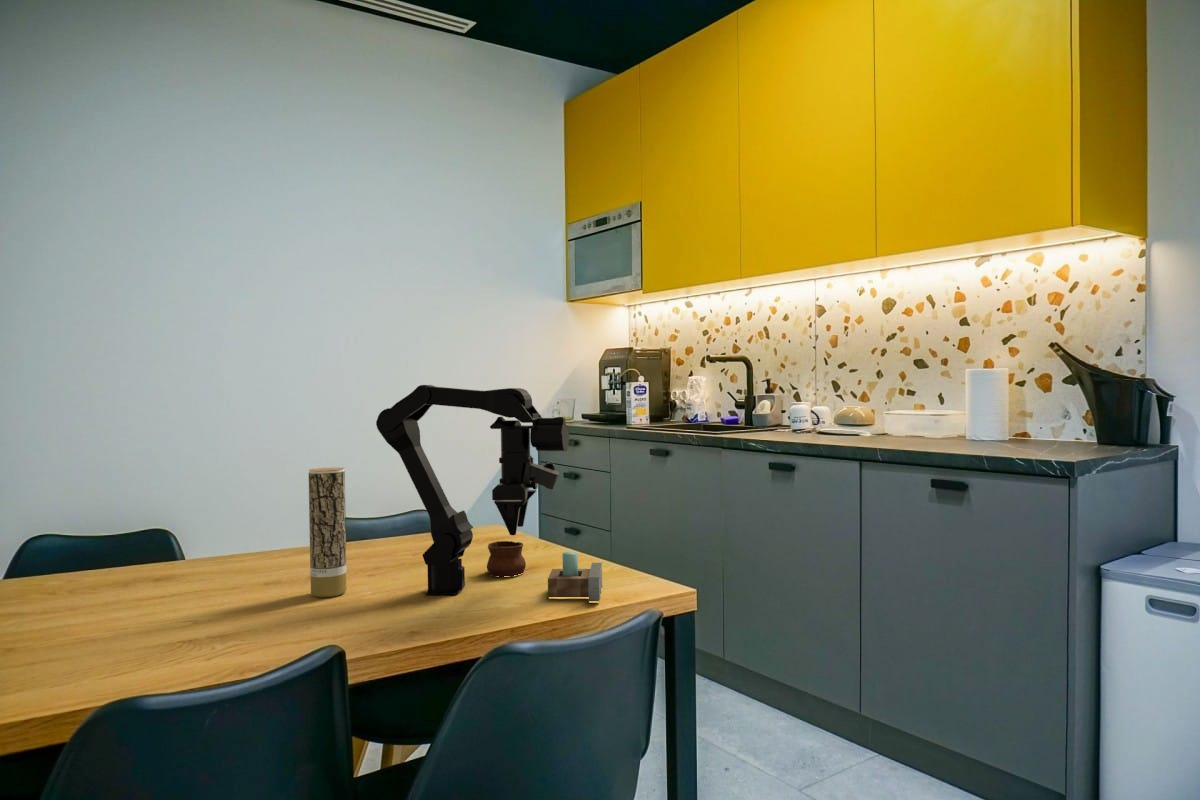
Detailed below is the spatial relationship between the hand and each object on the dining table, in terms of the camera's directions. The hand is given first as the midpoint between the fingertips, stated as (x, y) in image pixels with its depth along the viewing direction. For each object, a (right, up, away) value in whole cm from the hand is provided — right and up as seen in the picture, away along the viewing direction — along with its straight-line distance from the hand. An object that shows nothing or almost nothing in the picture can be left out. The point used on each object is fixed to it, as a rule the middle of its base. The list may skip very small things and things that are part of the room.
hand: (516, 530), depth 151 cm
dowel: (+11, -12, 0) cm, 16 cm away
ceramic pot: (-4, -13, +18) cm, 22 cm away
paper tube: (-38, -13, +2) cm, 40 cm away
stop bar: (+16, -12, -2) cm, 20 cm away
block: (+11, -12, 0) cm, 16 cm away
